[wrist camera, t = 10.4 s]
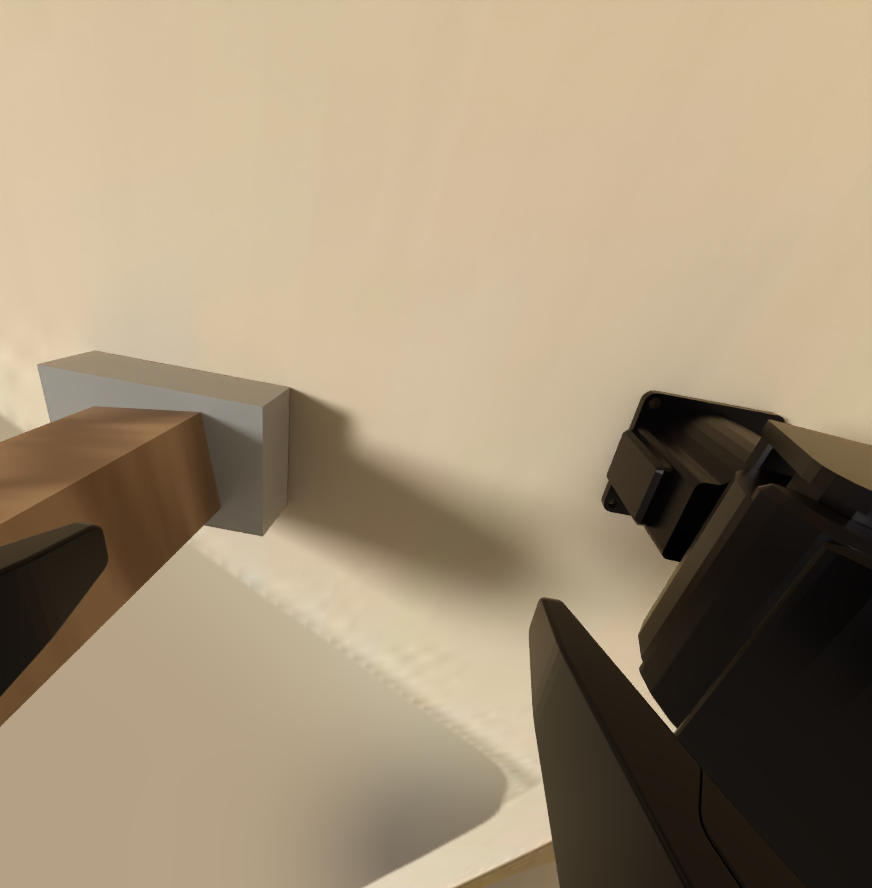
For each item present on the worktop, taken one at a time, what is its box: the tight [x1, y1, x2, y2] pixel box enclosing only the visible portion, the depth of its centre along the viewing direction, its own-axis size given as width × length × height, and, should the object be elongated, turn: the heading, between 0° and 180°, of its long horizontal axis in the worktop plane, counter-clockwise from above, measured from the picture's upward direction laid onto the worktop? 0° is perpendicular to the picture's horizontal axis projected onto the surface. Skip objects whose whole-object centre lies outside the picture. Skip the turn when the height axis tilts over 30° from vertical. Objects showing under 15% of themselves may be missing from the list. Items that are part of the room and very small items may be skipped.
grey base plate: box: [37, 351, 290, 536], centre depth 21 cm, size 10×7×3 cm
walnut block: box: [0, 406, 221, 726], centre depth 14 cm, size 5×5×13 cm
